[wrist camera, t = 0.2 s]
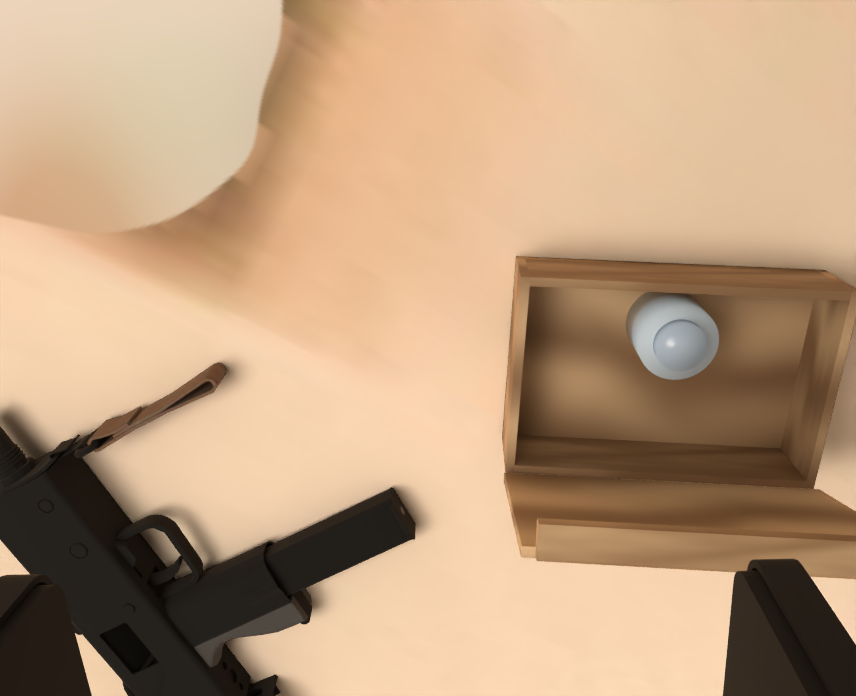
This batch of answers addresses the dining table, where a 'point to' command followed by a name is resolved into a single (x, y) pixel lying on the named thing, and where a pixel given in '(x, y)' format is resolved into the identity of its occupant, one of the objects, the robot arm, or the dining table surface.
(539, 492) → the lid
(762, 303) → the box
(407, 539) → the submachine gun
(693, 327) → the blue jar
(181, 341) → the dining table surface
